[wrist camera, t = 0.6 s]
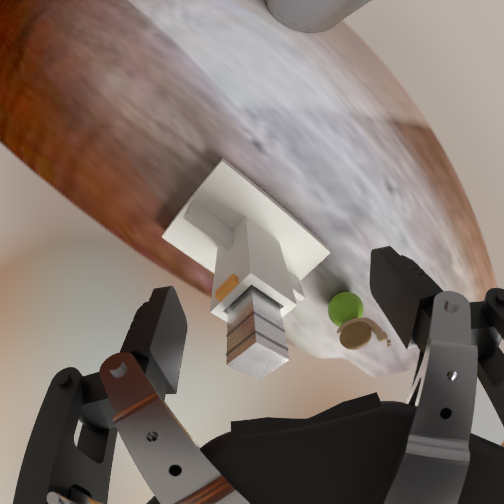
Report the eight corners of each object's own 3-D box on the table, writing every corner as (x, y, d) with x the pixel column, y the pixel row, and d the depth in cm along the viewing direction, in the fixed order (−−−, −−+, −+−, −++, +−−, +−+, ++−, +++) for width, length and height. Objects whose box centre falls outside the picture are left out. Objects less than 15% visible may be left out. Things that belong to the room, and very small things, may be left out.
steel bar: (229, 250, 34) (225, 364, 19) (247, 231, 33) (256, 341, 18) (250, 265, 35) (259, 380, 20) (268, 247, 34) (290, 359, 19)
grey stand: (165, 230, 35) (132, 297, 23) (222, 157, 31) (212, 192, 19) (267, 300, 42) (278, 376, 29) (326, 245, 38) (363, 313, 25)
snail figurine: (364, 301, 43) (392, 355, 33) (328, 316, 44) (349, 373, 34) (358, 277, 41) (390, 331, 30) (320, 293, 42) (343, 351, 31)
